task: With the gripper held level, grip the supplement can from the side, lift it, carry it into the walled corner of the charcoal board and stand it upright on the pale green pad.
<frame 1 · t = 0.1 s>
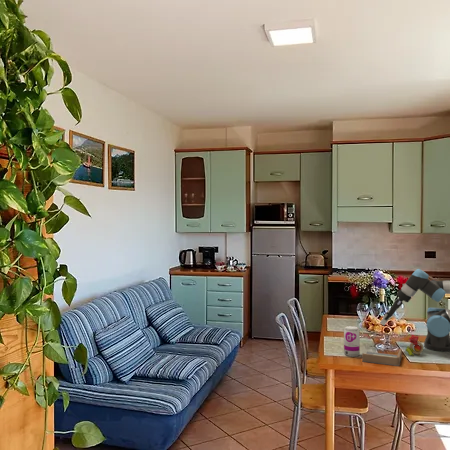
hand: (383, 321, 258), 15 cm above the table, tool tilted 35°, fingers open, 13 cm apart
corner arena: (382, 358, 238), on the table
bird rattle: (414, 355, 245), on the table
supplement can: (351, 355, 246), on the table
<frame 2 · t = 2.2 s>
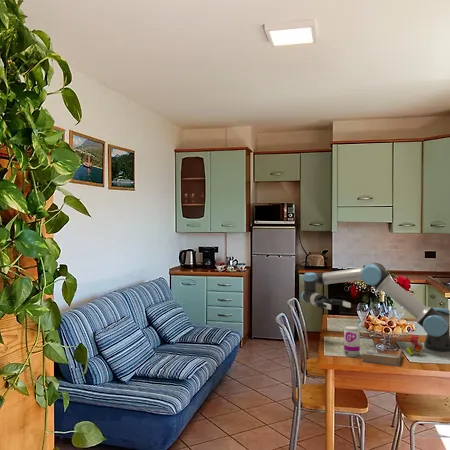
hand: (340, 306, 255), 25 cm above the table, tool horizontal, fingers open, 13 cm apart
nothing on the table moved.
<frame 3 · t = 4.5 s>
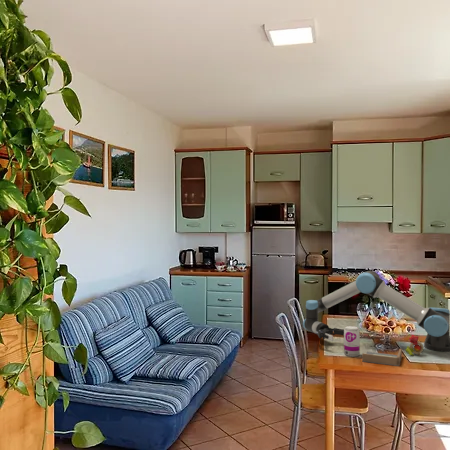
hand: (342, 337, 253), 8 cm above the table, tool horizontal, fingers open, 13 cm apart
nothing on the table moved.
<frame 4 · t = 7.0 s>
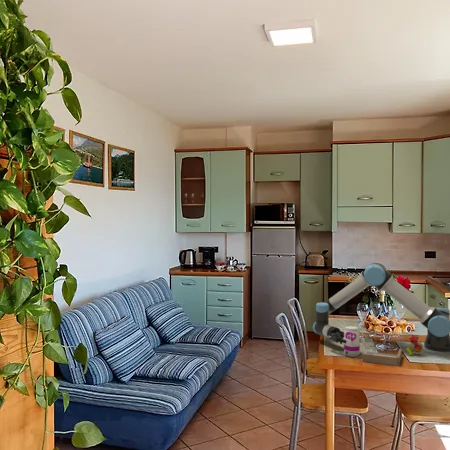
hand: (357, 342, 241), 8 cm above the table, tool horizontal, fingers closed on supplement can, 8 cm apart
supplement can: (351, 355, 246), on the table, touching gripper
everything else where it was.
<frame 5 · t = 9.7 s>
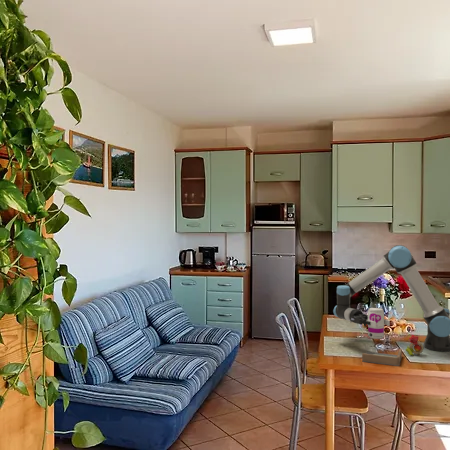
hand: (382, 323, 234), 20 cm above the table, tool horizontal, fingers closed on supplement can, 8 cm apart
supplement can: (376, 337, 238), point 11 cm above the table, touching gripper
everything else where it was.
when the fingers open (10 cm above the table, at t = 12.4 s): supplement can drops 1 cm, resting on corner arena.
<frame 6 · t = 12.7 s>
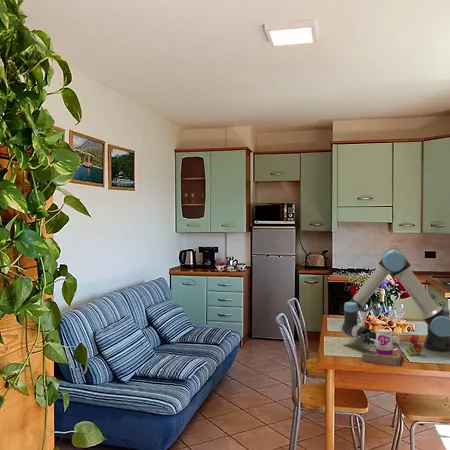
hand: (389, 342, 233), 10 cm above the table, tool horizontal, fingers open, 12 cm apart
supplement can: (384, 359, 236), resting on corner arena
everything else where it was.
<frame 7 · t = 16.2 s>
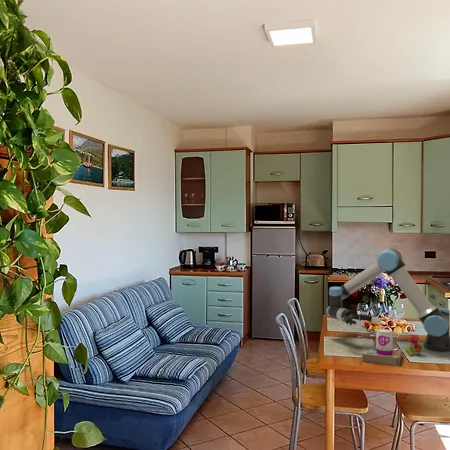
hand: (370, 322, 245), 18 cm above the table, tool horizontal, fingers open, 13 cm apart
nothing on the table moved.
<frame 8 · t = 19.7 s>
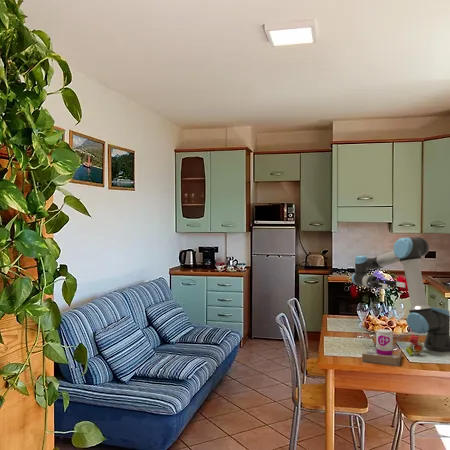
hand: (396, 286, 264), 35 cm above the table, tool horizontal, fingers open, 13 cm apart
nothing on the table moved.
at the end: supplement can inside the target area on the corner arena (0.6 cm from its centre), point 0.3 cm above the corner arena's base; supplement can tilted 0°; the gripper is holding nothing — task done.
